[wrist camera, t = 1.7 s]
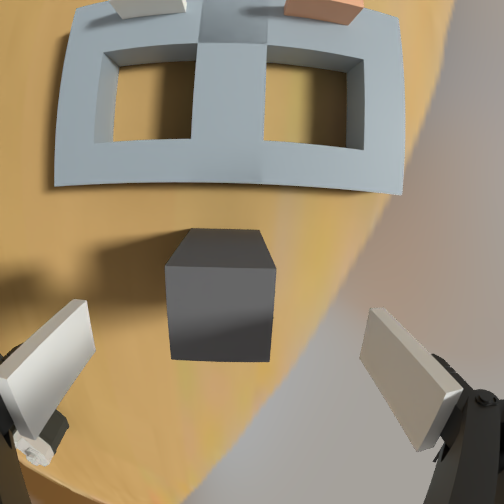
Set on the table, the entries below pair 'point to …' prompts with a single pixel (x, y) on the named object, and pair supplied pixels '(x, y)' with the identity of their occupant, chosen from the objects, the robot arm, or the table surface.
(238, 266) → the plug
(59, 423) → the camera
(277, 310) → the table surface
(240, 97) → the socket block
